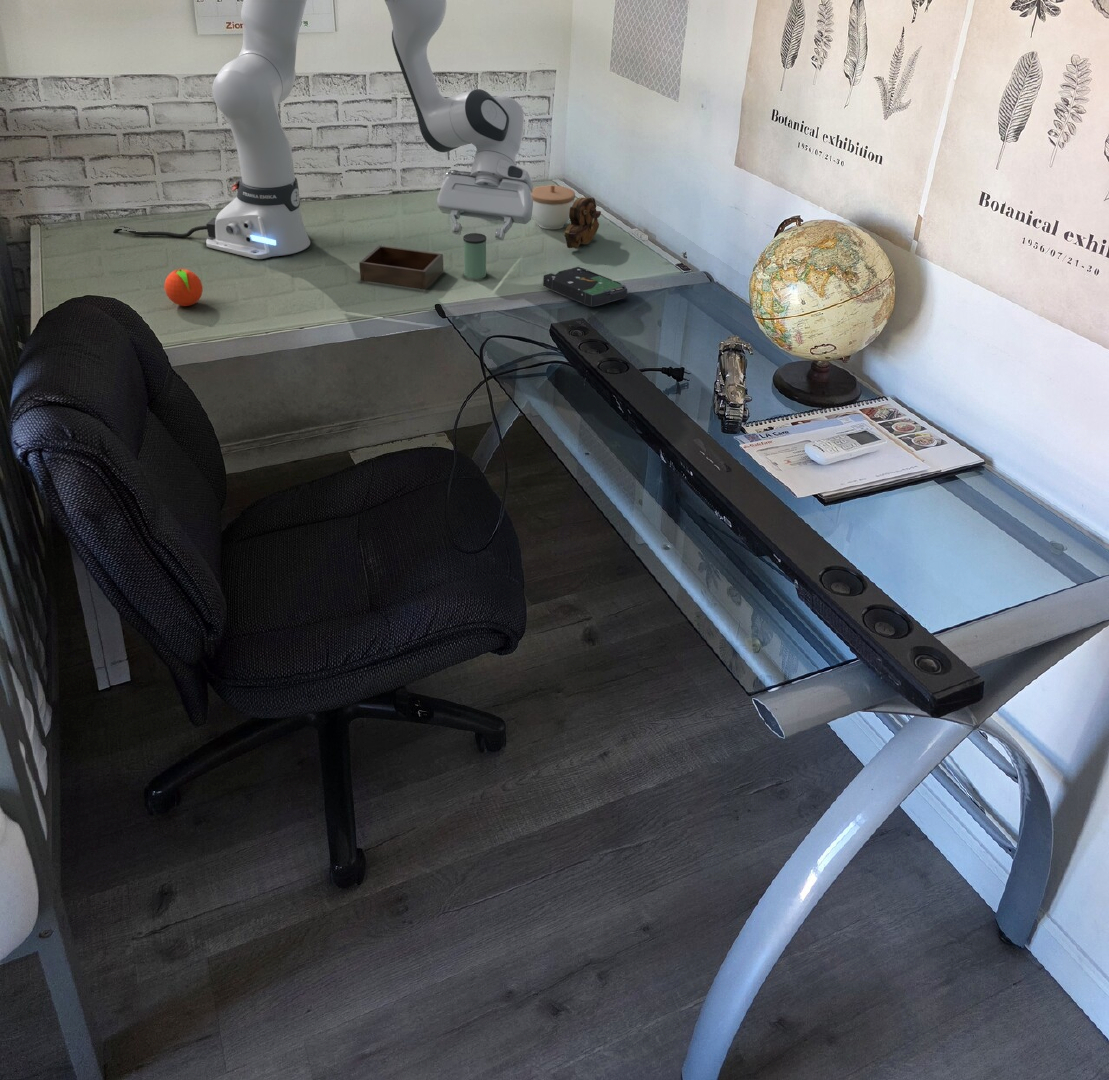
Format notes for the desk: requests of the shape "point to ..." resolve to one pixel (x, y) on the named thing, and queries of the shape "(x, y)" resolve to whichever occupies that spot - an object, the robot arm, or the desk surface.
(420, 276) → the walnut box
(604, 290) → the disk drive
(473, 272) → the cylinder
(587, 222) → the wooden carving
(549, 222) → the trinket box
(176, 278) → the clementine
